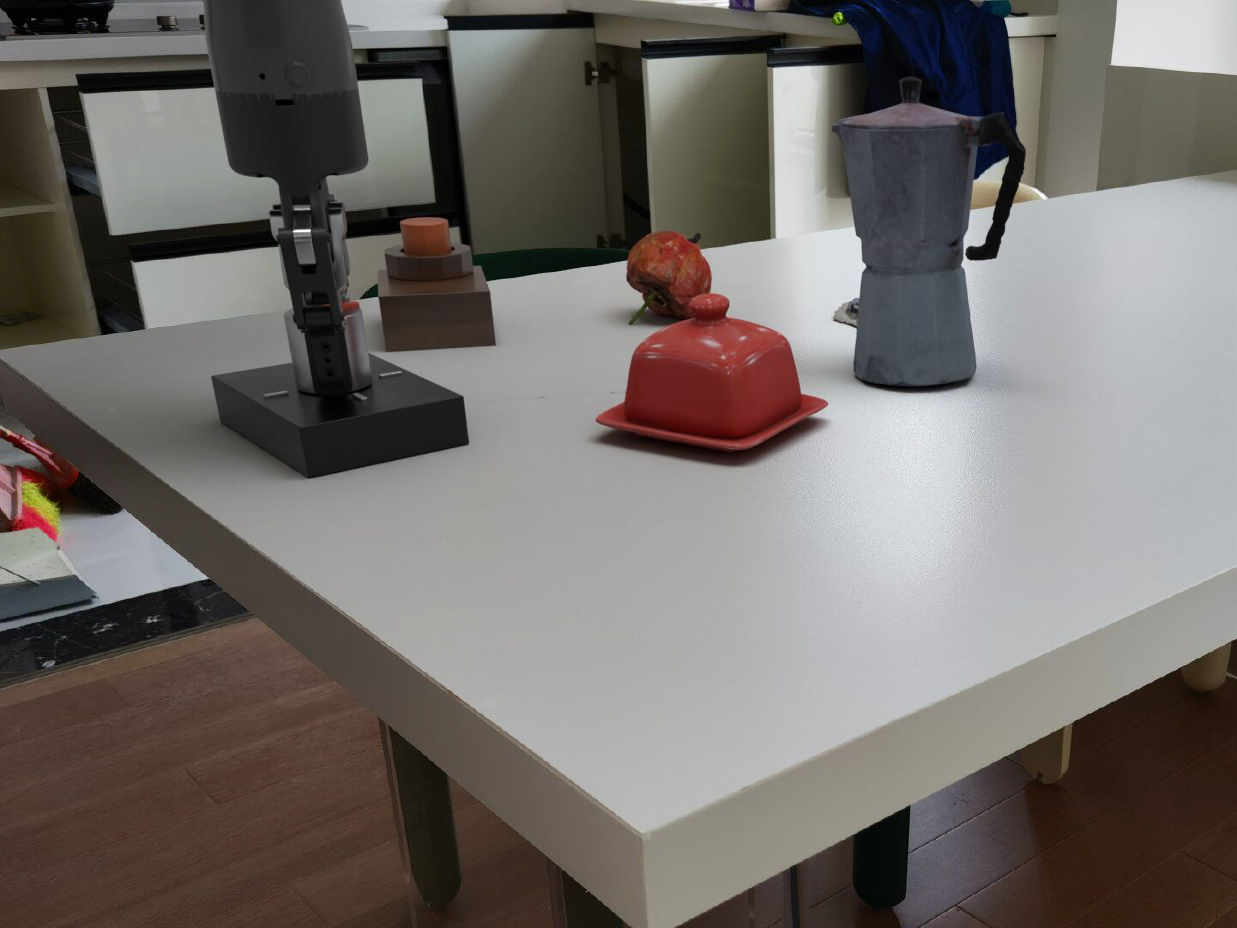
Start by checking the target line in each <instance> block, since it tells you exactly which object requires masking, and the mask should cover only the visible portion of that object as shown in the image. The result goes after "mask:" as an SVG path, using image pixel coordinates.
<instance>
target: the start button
mask: <svg viewBox="0 0 1237 928" xmlns="http://www.w3.org/2000/svg"><path fill="white" fill-rule="evenodd" d="M399 226H400V233H401V241H402V245H403V249H404V253H406V254H418V255H424V254H440V253H447V252H451V251H452V250H451V243H452V242H451V241H452V240H451V234H450V233H451V232H450V225H449V220H448V219H447V218H443V217H432V216H430V217H411V218H406V219H403V220H400V222H399Z"/></svg>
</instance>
